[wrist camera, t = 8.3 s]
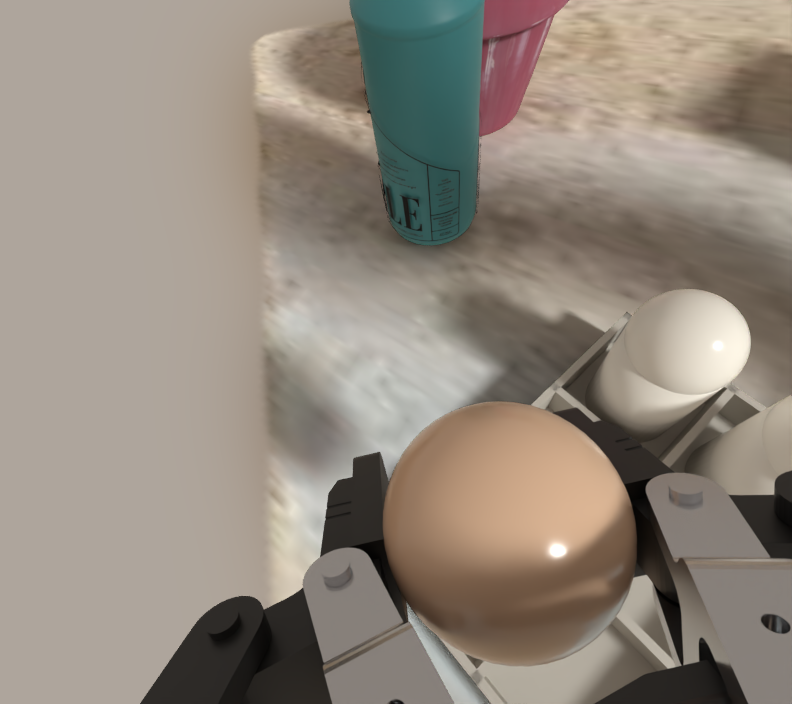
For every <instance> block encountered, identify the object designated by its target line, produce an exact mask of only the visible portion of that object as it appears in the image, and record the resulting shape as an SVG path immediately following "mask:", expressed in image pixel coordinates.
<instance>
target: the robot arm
mask: <svg viewBox="0 0 792 704" xmlns="http://www.w3.org/2000/svg"><path fill="white" fill-rule="evenodd" d="M553 414H556V415H558V416H560V417H562V418H563V419H565V420H567V421H568V422H570V423H572V424H573V425H575V426H576V427H577V428H578V429H580V430H581V431H582V432H584V433H585V434H586V435H587V436H588V437H589V438H590V439H592V440H593V441H594V442H595V443H596V444H597V445H598V446H599V448H600V449H601V450H602V451H603V452H604V454H605V455H606V456H607V457H608V458H609V460H610V461H611V463H612V464H613V466H614V467H615V469H616V470H617V472H618V474H619V476H620V478H621V480H622V482H623V484H624V486H625V488H626V490H627V493H628V496H629V498H630V501H631V504H632V508H633V513H634V517H635V521H636V531H637V561H636V567H635V573H634V578H635V577H639V576H643V575H647V576H648V577H649V579H650V580H651V581H652V588H653V598H654V602H655V605H656V609H657V612H658V615H659V618H660V621H661V624H662V627H663V630H664V633H665V636H666V639H667V642H668V646H669V649H670V652H671V655H672V658H673V661H674V664H675V667H673V668H669V669H665V670H660V671H656V672H652V673H647V674H644V675H642V676H641V677H639V678H637V679H636V680H634V681H632V682H630V683H629V684H627V685H625V686H624V687H622V688H620V689H618V690H617V691H615V692H613V693H612V694H610V695H608V696H606V697H605V698H603V699H601V700H600V701H598V702H596V703H595V704H792V471H788V472H785V473H783V474H781V475H779V476H778V477H777V478H776V480H775V483H774V495H728V493H727V492H726V491H725V490H724V488H723V487H721V486H720V485H719V484H717V483H716V482H714V481H712V480H710V479H708V478H705V477H702V476H699V475H695V474H689V473H675V472H674V471H673V470H671V469H670V468H669V467H668V466H667V465H665V464H664V463H663V462H662V461H660V460H659V459H658V458H657V457H656V456H654V455H653V454H652V453H651V452H649V451H648V450H647V449H646V448H645V447H644V448H643V447H642V445H641V444H640V443H638V442H637V441H636V440H635V439H632V437H631V436H630V435H629V434H627V433H626V432H625V431H624V430H623V429H621V428H620V427H618V426H616V425H613V424H610V423H608V422H605V421H602V420H600V421H596V422H593V421H592V420H591V419H590V418H589V417H587V416H586V415H585V414H584V413H583V412H582V411H581V410H580V409H578V408H577V407H574V408H570V409H566V410H561V411H557V412H553ZM388 484H389V482H388V478H387V474H386V471H385V467H384V463H383V459H382V456H381V453H380V452H377V453H373V454H368V455H364V456H360V457H355V458H354V459H353V477H351V478H346V479H342V480H338V481H337V482H336V484H335V485H334V487H333V488H332V489H331V491H330V492H329V495H328V502H327V510H326V517H325V518H326V520H325V525H324V532H323V540H322V548H321V555H320V558H319V559H317V560H316V561H315V562H314V563H313V564H312V565H311V566H310V567H309V569H308V570H307V572H306V574H305V576H304V579H303V588H302V589H301V590H300V591H298V592H297V593H295V594H294V595H292V596H290V597H289V598H287V599H285V600H283V601H281V602H279V603H277V604H275V605H273V606H271V607H269V608H267V609H265V610H264V609H263V607H262V605H261V603H260V602H259V601H258V600H257V599H255V598H253V597H250V596H239V597H234V598H231V599H228V600H226V601H224V602H221V603H219V604H218V605H216V606H214V607H213V608H212V609H210V610H209V611H208V612H206V613H205V614H204V615H203V616H202V617H201V618H200V619H199V620H198V621H197V623H196V624H195V625H194V627H193V628H192V629H191V631H190V632H189V634H188V635H187V637H186V638H185V640H184V641H183V642H182V644H181V645H180V647H179V648H178V650H177V651H176V652H175V654H174V655H173V657H172V658H171V660H170V661H169V663H168V664H167V666H166V667H165V669H164V670H163V671H162V673H161V674H160V676H159V677H158V679H157V680H156V682H155V683H154V684H153V686H152V687H151V689H150V690H149V692H148V693H147V695H146V696H145V697H144V699H143V700H142V702H141V703H140V704H454V702H453V700H452V698H451V696H450V695H449V693H448V691H447V689H446V687H445V685H444V683H443V682H442V680H441V678H440V676H439V674H438V672H437V670H436V669H435V667H434V665H433V663H432V661H431V659H430V657H429V656H428V654H427V652H426V650H425V648H424V646H423V644H422V643H421V641H420V639H419V637H418V635H417V633H416V631H415V630H414V628H413V626H412V625H411V623H410V622H409V621H408V614H407V605H406V600H405V598H404V597H403V595H402V593H401V591H400V589H399V587H398V585H397V584H396V582H395V579H394V577H393V574H392V571H391V569H390V566H389V563H388V559H387V554H386V550H385V545H384V536H383V509H384V502H385V496H386V492H387V488H388Z"/></svg>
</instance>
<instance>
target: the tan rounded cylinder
mask: <svg viewBox="0 0 792 704" xmlns="http://www.w3.org/2000/svg"><path fill="white" fill-rule="evenodd" d="M383 536H384V545H385V550H386V554H387V559H388V563H389V566H390V569H391V571H392V574H393V577H394V579H395V582H396V584H397V585H398V587H399V589H400V591H401V593H402V595H403V597H404V598H405V600H406V601H407V603H408V604H409V606H410V607H411V609H412V610H413V612H414V613H415V614H416V615H417V616H418V617H419V618H420V620H421V621H422V622H423V623H424V624H425V625H426V626H427V627H428V628H429V629H430V630H431V631H432V632H434V633H435V634H436V635H437V636H438V637H439V638H440V639H442V640H443V641H445V642H446V643H448V644H449V645H451V646H452V647H454V648H455V649H457V650H459V651H461V652H463V653H465V654H467V655H470V656H472V657H474V658H477V659H480V660H483V661H486V662H489V663H493V664H499V665H505V666H524V667H529V666H536V665H543V664H548V663H552V662H555V661H558V660H561V659H564V658H566V657H568V656H570V655H572V654H574V653H576V652H578V651H580V650H582V649H583V648H584V647H586V646H587V645H588V644H590V643H591V642H593V641H594V640H595V639H596V638H598V637H599V636H600V635H601V634H602V632H603V631H604V630H605V629H606V628H607V627H608V626H609V625H610V624H611V623H612V621H613V620H614V618H615V617H616V616H617V614H618V613H619V611H620V610H621V608H622V606H623V604H624V602H625V600H626V598H627V596H628V594H629V591H630V587H631V584H632V581H633V578H634V573H635V567H636V561H637V531H636V521H635V517H634V513H633V508H632V504H631V501H630V498H629V496H628V493H627V490H626V488H625V486H624V484H623V482H622V480H621V478H620V476H619V474H618V472H617V470H616V469H615V467H614V466H613V464H612V463H611V461H610V460H609V458H608V457H607V456H606V455H605V454H604V452H603V451H602V450H601V449H600V448H599V446H598V445H597V444H596V443H595V442H594V441H593V440H592V439H590V438H589V437H588V436H587V435H586V434H585V433H584V432H582V431H581V430H580V429H578V428H577V427H576V426H575V425H573V424H572V423H570V422H568V421H567V420H565V419H563V418H562V417H560V416H558V415H556V414H553V413H551V412H549V411H547V410H544V409H541V408H538V407H535V406H532V405H527V404H522V403H517V402H505V401H496V402H484V403H478V404H473V405H469V406H466V407H462V408H459V409H457V410H455V411H452V412H450V413H448V414H446V415H444V416H442V417H440V418H439V419H437V420H435V421H434V422H432V423H431V424H430V425H429V426H427V427H426V428H425V429H424V430H422V431H421V432H420V433H419V434H418V435H417V436H416V437H415V438H414V439H413V441H412V442H411V443H410V444H409V446H408V447H407V448H406V450H405V451H404V452H403V454H402V456H401V458H400V459H399V461H398V463H397V465H396V467H395V469H394V471H393V474H392V476H391V479H390V481H389V484H388V488H387V492H386V496H385V502H384V509H383Z"/></svg>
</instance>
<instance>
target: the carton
mask: <svg viewBox="0 0 792 704" xmlns="http://www.w3.org/2000/svg"><path fill="white" fill-rule="evenodd" d="M631 317H632V315H631V314H629V313H628V312H626V313H625V314H624V315H623V316H622V317H621V318H620V319H619V320H618V321H617V322H616V323H615V324H614V325H613V326H612V327H611V328H610V329H609V330H608V331H607V332H606V333H605V334H604V335H603V336H602V337H601V338H599V339H598V340H597V341H596V342H595V343H594V344H593V345H592V346H591V347H590V348H589V349H588V350H587V351H586V352H585V353H584V354H583V355H582V356H581V357H580V358H579V359H578V360H577V361H576V362H575V363H574V364H573V365H572V366H571V367H570V368H568V369H567V370H566V371H565V372H564V373H563V374H562V375H561V376H560V377H559V378H558V379H557V380H556V381H555V382H554V383H553V384H552V385H551V386H550V387H549V388H548V389H547V390H546V391H545V392H544V393H543V394H542V395H541V396H540V397H539V398H537V399H536V400H535V401H534V402H533V403H532V404H531V405H532V406H535V407H538V408H541V409H544V410H547V411H549V412H551V413H553V412H557V411H561V410H566V409H570V408H574V407H577V408H578V409H580V410H581V411H582V412H583V413H584V414H585V415H586V416H587V417H589V418H590V419H591V420H592V421H593V422H596V421H600V419H599V418H598V417H597V416H596V415H594V414H593V413H592V412H591V411H589V410H588V409H587V407H586V402H585V394H586V389H587V386H588V384H589V382H590V381H591V379H592V378H593V376H594V374H595V373H596V371H597V370H598V368H599V367H600V365H601V364H602V362H603V360H604V359H605V357H606V356H607V354H608V353H609V351H610V350H611V348H612V346H613V345H614V343H615V342H616V340H617V339H618V337H619V335H620V334H621V332H622V331H623V329H624V328H625V326H626V325H627V323H628V321H629V320H630V318H631ZM765 409H767V407H765V406H764V405H762V404H761V403H759V402H758V401H756V400H755V399H753V398H752V397H750V396H749V395H748V394H746V393H745V392H743V391H742V390H740V389H739V388H737V387H736V386H734V385H733V384H731V383H728V384H727V385H726V386H725V387H723V388H722V389H721V390H719V391H718V392H717V393H716V394H714V395H713V396H712V397H710V398H709V399H708V400H706V401H705V402H704V403H702V404H701V405H700V406H698V407H697V408H696V409H695V410H693V411H692V412H691V413H689V414H688V415H687V416H685V417H684V418H683V419H681V420H680V421H679V422H677V423H676V424H675V425H674V426H672V427H671V428H670V429H668V430H667V431H666V432H664V433H663V434H662V435H660V436H659V437H657V438H656V439H653V440H651V441H648V442H642V443H640V444H641V445H642V447H643V448H644V447H645V448H646V449H647V450H648V451H649V452H651V453H652V454H653V455H654V456H656V457H657V458H658V459H659V460H660V461H662V462H663V463H664V464H665V465H667V466H668V467H669V468H670V469H671V470H673V471H674V472H675V473H685V466H686V463H687V460H688V458H689V457H690V455H691V454H692V453H693V451H694V450H695V449H697V448H698V447H700V446H701V445H703V444H705V443H707V442H708V441H710V440H712V439H714V438H715V437H717V436H719V435H721V434H722V433H724V432H726V431H728V430H730V429H731V428H733V427H735V426H737V425H738V424H740V423H742V422H744V421H745V420H747V419H749V418H751V417H752V416H754V415H756V414H758V413H760V412H761V411H763V410H765ZM441 641H442V642H443V643H444V644H445V646H446V647H447V648H448V649H449V651H450V652H451V653H452V655H453V656H454V657H455V658H456V660H457V661H458V662H459V663H460V665H461V666H462V667H463V669H464V670H465V671H466V672H467V674H468V675H469V676H470V677H471V679H472V680H473V681H474V682H475V684H476V685H477V686H478V688H479V689H480V690H481V691H482V693H483V694H484V695H485V696H486V698H487V699H488V700H489V702H490V703H491V704H595V703H596V702H598V701H600V700H601V699H603V698H605V697H606V696H608V695H610V694H612V693H613V692H615V691H617V690H618V689H620V688H622V687H624V686H625V685H627V684H629V683H630V682H632V681H634V680H636V679H637V678H639V677H641V676H642V675H644V674H647V673H652V672H656V671H660V670H665V669H669V668H673V667H675V664H674V661H673V658H672V655H671V652H670V649H669V646H668V642H667V639H666V636H665V633H664V630H663V627H662V624H661V621H660V618H659V615H658V612H657V609H656V605H655V602H654V598H653V588H652V581H651V580H650V579H649V577H648V576H647V575H643V576H639V577H635V578H633V581H632V584H631V587H630V591H629V594H628V596H627V598H626V600H625V602H624V604H623V606H622V608H621V610H620V611H619V613H618V614H617V616H616V617H615V618H614V620H613V621H612V623H611V624H610V625H609V626H608V627H607V628H606V629H605V630H604V631H603V632H602V634H601V635H600V636H599V637H598V638H596V639H595V640H594V641H593V642H591V643H590V644H588V645H587V646H586V647H584V648H583V649H582V650H580V651H578V652H576V653H574V654H572V655H570V656H568V657H566V658H564V659H561V660H558V661H555V662H552V663H548V664H543V665H536V666H529V667H524V666H505V665H499V664H493V663H489V662H486V661H483V660H480V659H477V658H474V657H472V656H470V655H467V654H465V653H463V652H461V651H459V650H457V649H455V648H454V647H452V646H451V645H449V644H448V643H446V642H445V641H443V640H442V639H441Z"/></svg>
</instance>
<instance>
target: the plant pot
mask: <svg viewBox="0 0 792 704" xmlns="http://www.w3.org/2000/svg"><path fill="white" fill-rule="evenodd" d="M568 1H569V0H485V2H484V22H483V42H482V63H481V83H480V104H479V109H480V110H479V121H480V128H479V136H483V135H487V134H490V133H493V132H495V131H497V130H499V129H501V128H502V127H504V126H505V125H507V124H508V123H509V122H510V121H511V120H512V119H513V118H514V116H515V115H516V113H517V112H518V109H519V107H520V104H521V102H522V99H523V97H524V94H525V91H526V89H527V86H528V84H529V81H530V79H531V76H532V74H533V71H534V68H535V66H536V63H537V60H538V58H539V55H540V52H541V50H542V47H543V44H544V42H545V39H546V36H547V34H548V31H549V28H550V26H551V23H552V20H553V17H554V15H555V14H556V13H557V12H558V11H559V10H560V9H561V8H562V7H564V6H565V4H566V3H567V2H568ZM480 113H481V115H480ZM481 120H482V122H481Z"/></svg>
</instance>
